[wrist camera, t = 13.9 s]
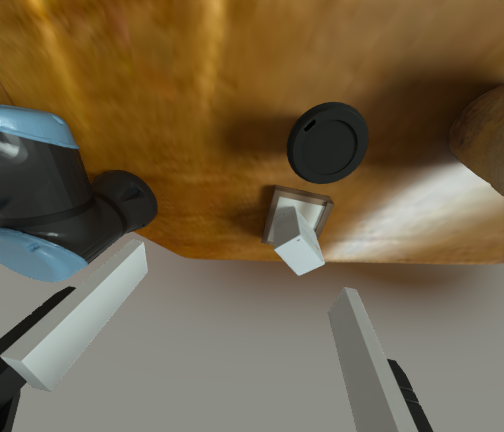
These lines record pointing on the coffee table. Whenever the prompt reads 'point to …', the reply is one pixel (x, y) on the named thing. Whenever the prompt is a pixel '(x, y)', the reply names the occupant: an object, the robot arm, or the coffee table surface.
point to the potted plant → (481, 137)
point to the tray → (306, 203)
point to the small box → (296, 242)
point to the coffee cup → (327, 143)
